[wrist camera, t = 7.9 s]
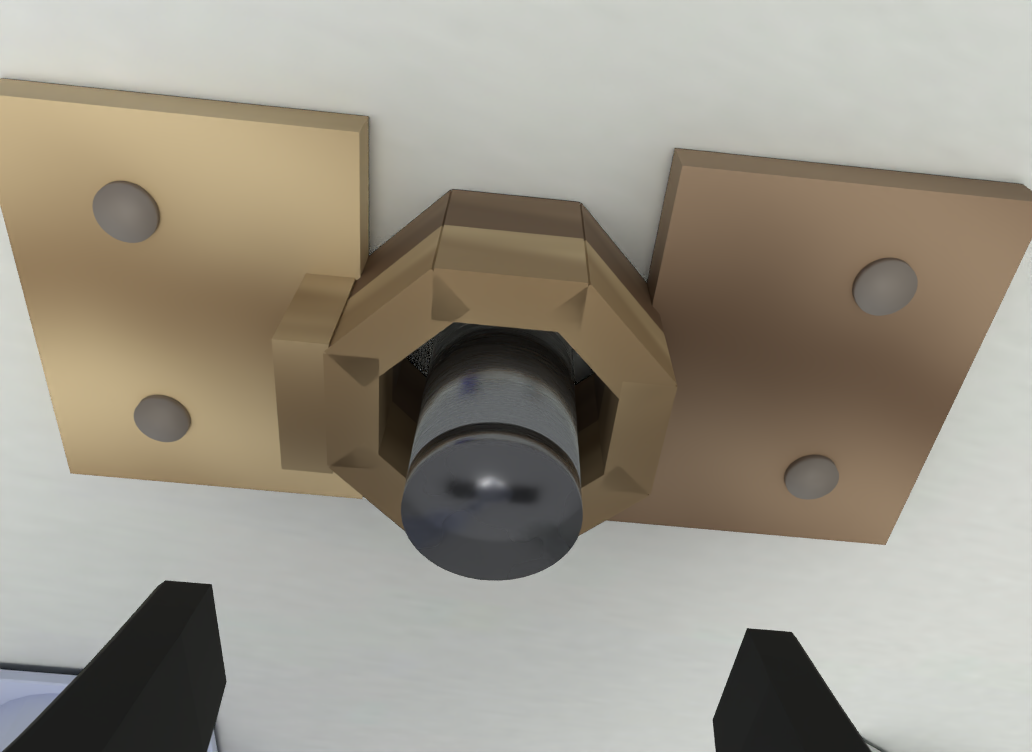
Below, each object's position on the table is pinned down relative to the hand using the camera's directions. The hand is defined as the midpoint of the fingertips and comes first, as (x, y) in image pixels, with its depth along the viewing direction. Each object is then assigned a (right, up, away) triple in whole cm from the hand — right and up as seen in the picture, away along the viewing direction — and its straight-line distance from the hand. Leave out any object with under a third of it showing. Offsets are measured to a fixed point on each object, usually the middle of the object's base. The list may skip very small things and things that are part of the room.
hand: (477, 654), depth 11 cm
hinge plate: (+4, +5, +7) cm, 9 cm away
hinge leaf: (-3, +5, +7) cm, 9 cm away
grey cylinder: (0, +5, +7) cm, 9 cm away
